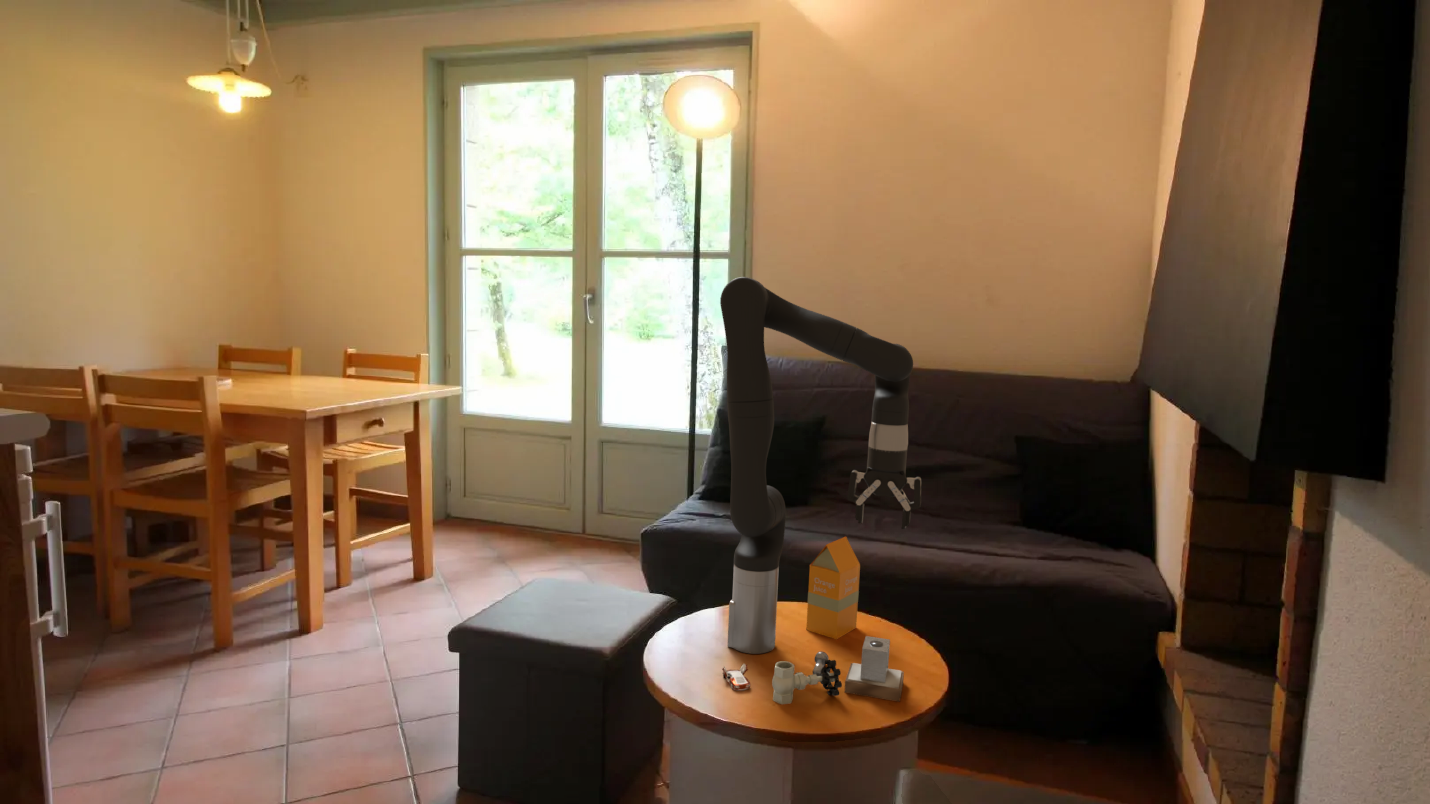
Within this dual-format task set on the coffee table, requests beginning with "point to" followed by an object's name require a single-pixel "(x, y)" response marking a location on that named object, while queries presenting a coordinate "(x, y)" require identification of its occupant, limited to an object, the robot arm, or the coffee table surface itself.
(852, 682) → the stand
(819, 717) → the coffee table surface
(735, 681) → the toy car
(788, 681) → the valve
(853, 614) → the orange juice
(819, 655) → the steel bolt
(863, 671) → the block
